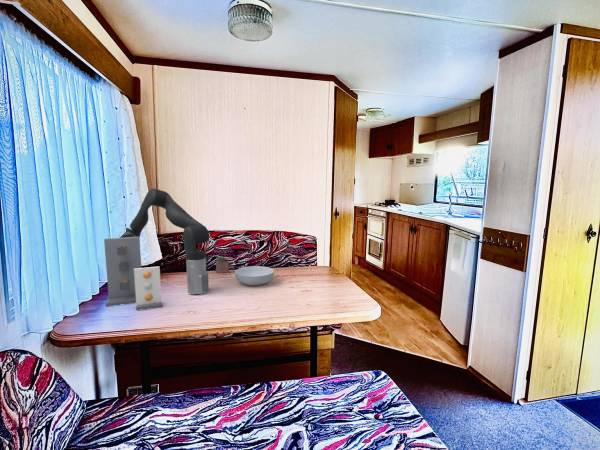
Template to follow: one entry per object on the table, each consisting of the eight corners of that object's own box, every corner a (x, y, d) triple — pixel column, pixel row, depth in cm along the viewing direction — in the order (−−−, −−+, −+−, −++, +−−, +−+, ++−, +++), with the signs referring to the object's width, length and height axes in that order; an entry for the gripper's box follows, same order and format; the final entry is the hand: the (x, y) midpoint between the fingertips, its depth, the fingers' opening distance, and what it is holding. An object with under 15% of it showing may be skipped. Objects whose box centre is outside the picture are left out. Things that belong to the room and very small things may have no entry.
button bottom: (122, 284, 153) (121, 277, 153) (130, 283, 155) (129, 276, 154) (120, 290, 145) (119, 282, 145) (128, 289, 147) (128, 281, 146)
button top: (119, 251, 151) (119, 244, 151) (128, 250, 153) (127, 243, 152) (117, 255, 143) (116, 247, 143) (126, 254, 145) (125, 247, 144)
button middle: (121, 266, 155) (121, 259, 155) (129, 265, 157) (129, 258, 156) (119, 271, 147) (119, 263, 147) (128, 270, 149) (127, 262, 148)
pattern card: (137, 305, 144) (134, 267, 142) (161, 302, 148) (159, 265, 145) (136, 310, 138) (133, 270, 136) (161, 307, 142) (159, 268, 140)
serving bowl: (272, 289, 166) (272, 276, 165) (231, 289, 166) (230, 276, 165) (275, 277, 187) (275, 265, 186) (239, 277, 187) (239, 265, 186)
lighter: (230, 272, 196) (229, 256, 194) (228, 274, 192) (227, 257, 191) (217, 272, 196) (216, 256, 195) (215, 274, 193) (214, 257, 192)
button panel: (110, 296, 155) (105, 236, 151) (144, 292, 161) (141, 234, 157) (105, 306, 143) (100, 241, 139) (143, 301, 149) (139, 239, 145)
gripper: (113, 233, 173) (109, 238, 158) (140, 232, 179) (139, 236, 163) (114, 247, 174) (110, 253, 158) (141, 245, 179) (140, 251, 164)
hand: (125, 244), depth 161 cm, fingers closed
